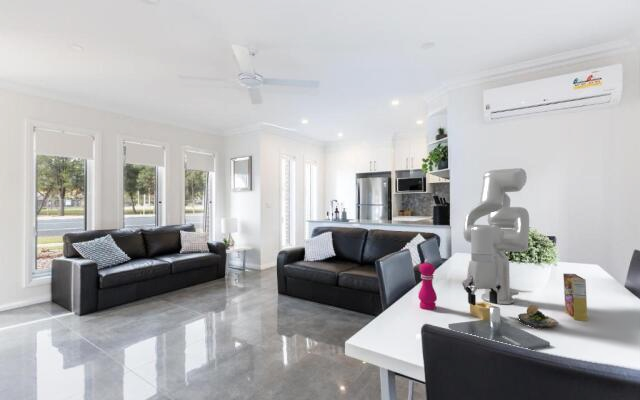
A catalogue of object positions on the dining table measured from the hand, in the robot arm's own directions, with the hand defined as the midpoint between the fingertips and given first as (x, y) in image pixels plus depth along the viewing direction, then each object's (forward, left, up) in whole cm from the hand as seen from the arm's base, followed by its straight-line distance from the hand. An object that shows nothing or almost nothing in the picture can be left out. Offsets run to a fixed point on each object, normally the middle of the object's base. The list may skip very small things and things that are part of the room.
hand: (482, 303), depth 115 cm
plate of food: (-14, +10, -5) cm, 18 cm away
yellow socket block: (-1, -1, -5) cm, 5 cm away
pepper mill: (+14, -15, -5) cm, 21 cm away
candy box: (-33, +9, -5) cm, 35 cm away
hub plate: (+9, +15, -5) cm, 19 cm away
